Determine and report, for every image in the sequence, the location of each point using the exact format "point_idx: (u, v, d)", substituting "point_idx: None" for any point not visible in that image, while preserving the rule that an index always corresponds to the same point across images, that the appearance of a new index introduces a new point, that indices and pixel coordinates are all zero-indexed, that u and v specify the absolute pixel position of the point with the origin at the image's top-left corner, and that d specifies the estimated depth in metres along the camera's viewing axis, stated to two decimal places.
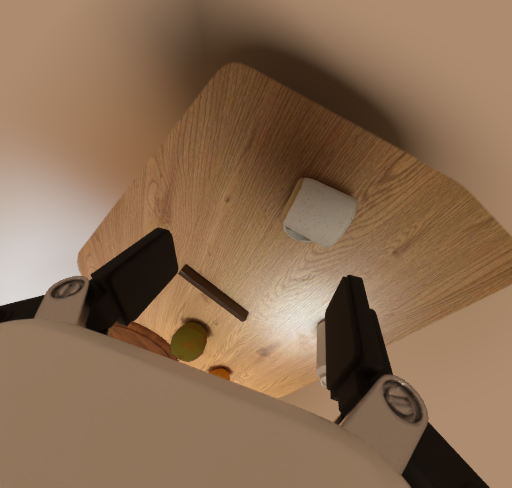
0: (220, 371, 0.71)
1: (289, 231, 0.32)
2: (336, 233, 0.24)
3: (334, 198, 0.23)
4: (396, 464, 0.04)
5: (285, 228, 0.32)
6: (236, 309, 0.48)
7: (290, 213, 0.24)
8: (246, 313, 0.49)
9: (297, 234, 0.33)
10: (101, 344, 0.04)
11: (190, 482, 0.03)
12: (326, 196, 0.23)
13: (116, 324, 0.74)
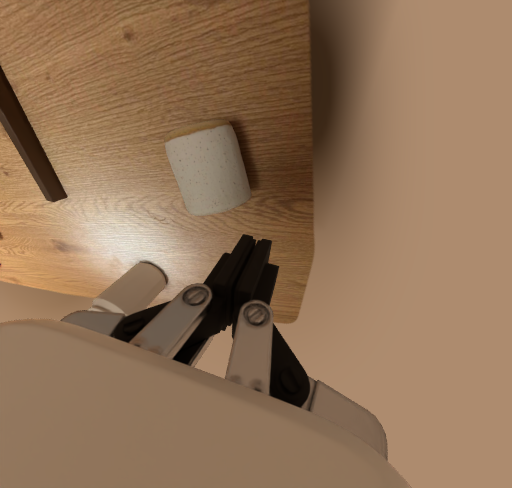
0: None
1: None
2: (203, 208, 0.19)
3: (232, 176, 0.19)
4: (266, 355, 0.06)
5: None
6: (47, 181, 0.33)
7: (176, 142, 0.17)
8: (62, 196, 0.35)
9: None
10: (100, 344, 0.04)
11: (190, 482, 0.03)
12: (227, 167, 0.18)
13: None
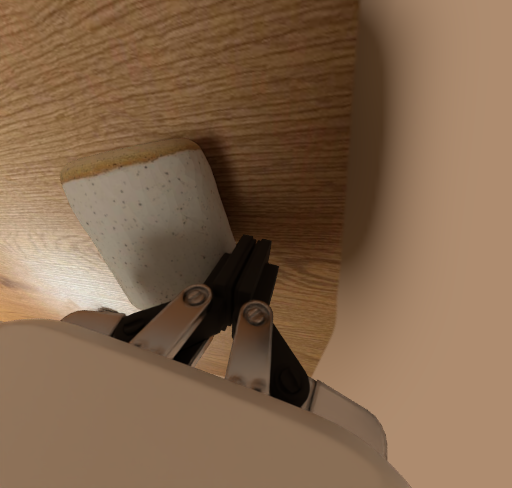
0: None
1: None
2: (145, 303, 0.10)
3: (199, 246, 0.10)
4: (266, 355, 0.06)
5: None
6: None
7: (73, 189, 0.08)
8: None
9: None
10: (101, 343, 0.04)
11: (190, 482, 0.03)
12: (187, 232, 0.09)
13: None
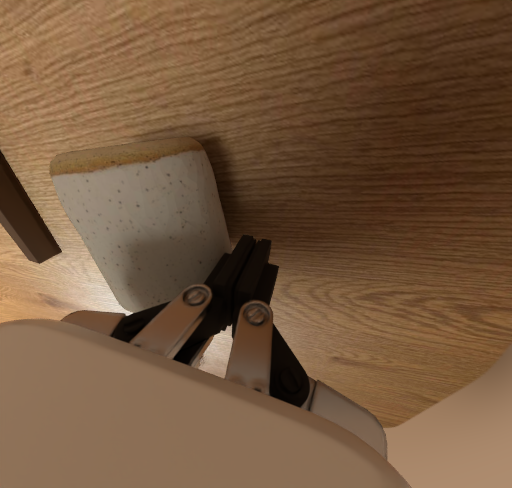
0: None
1: None
2: (135, 305, 0.10)
3: (196, 251, 0.10)
4: (266, 355, 0.06)
5: None
6: (30, 235, 0.21)
7: (64, 183, 0.07)
8: (53, 252, 0.23)
9: None
10: (101, 343, 0.04)
11: (190, 482, 0.03)
12: (185, 237, 0.09)
13: None
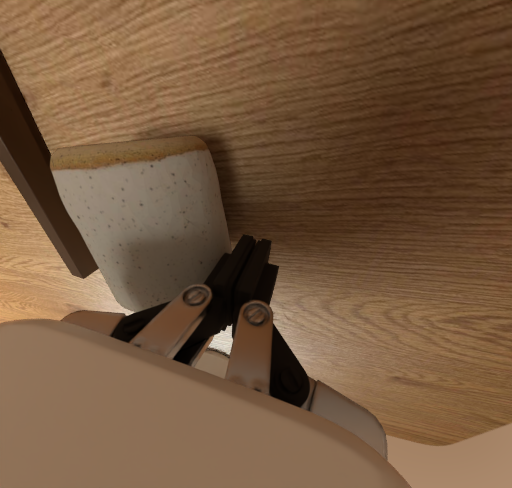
0: None
1: None
2: (134, 304, 0.10)
3: (197, 251, 0.10)
4: (266, 355, 0.06)
5: None
6: (77, 250, 0.20)
7: (66, 179, 0.07)
8: (96, 266, 0.22)
9: None
10: (101, 343, 0.04)
11: (190, 482, 0.03)
12: (187, 237, 0.09)
13: None
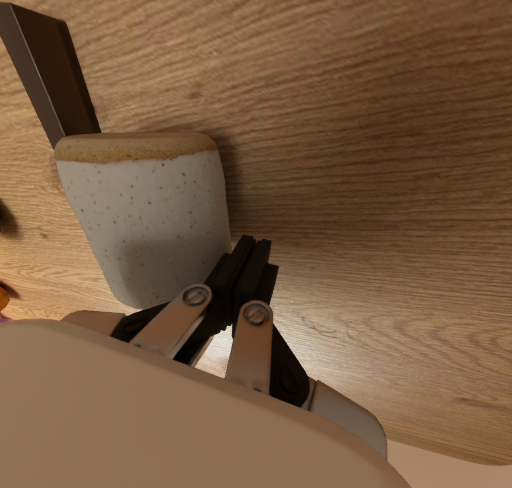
0: None
1: None
2: (132, 300, 0.10)
3: (201, 251, 0.10)
4: (266, 355, 0.06)
5: None
6: None
7: (73, 171, 0.07)
8: None
9: None
10: (101, 343, 0.04)
11: (190, 482, 0.03)
12: (192, 237, 0.09)
13: None
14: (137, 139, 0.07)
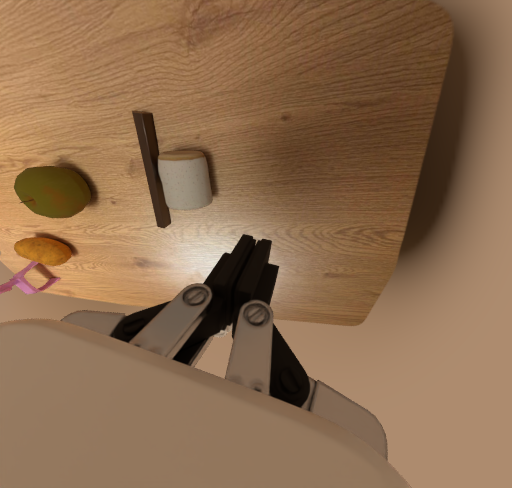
0: (61, 246, 0.54)
1: None
2: (177, 205, 0.30)
3: (200, 189, 0.30)
4: (266, 355, 0.06)
5: None
6: (163, 211, 0.39)
7: (167, 163, 0.27)
8: (168, 222, 0.41)
9: None
10: (100, 344, 0.04)
11: (190, 482, 0.03)
12: (197, 183, 0.29)
13: None
14: (183, 154, 0.27)
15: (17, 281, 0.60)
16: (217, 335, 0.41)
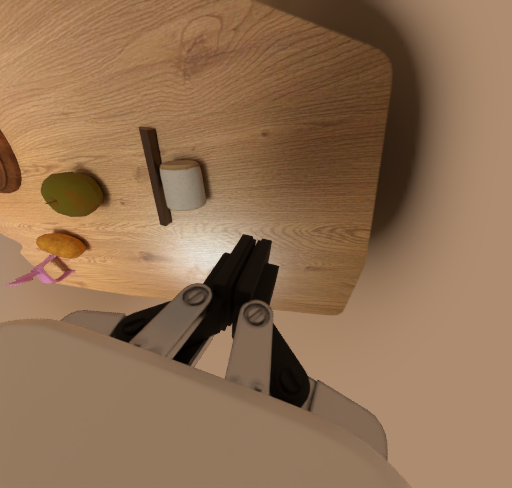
0: (77, 241, 0.60)
1: None
2: (176, 207, 0.36)
3: (194, 193, 0.35)
4: (266, 355, 0.06)
5: None
6: (165, 211, 0.45)
7: (167, 172, 0.33)
8: (170, 221, 0.47)
9: None
10: (101, 344, 0.04)
11: (190, 482, 0.03)
12: (192, 188, 0.35)
13: None
14: (180, 165, 0.33)
15: (37, 272, 0.68)
16: None
